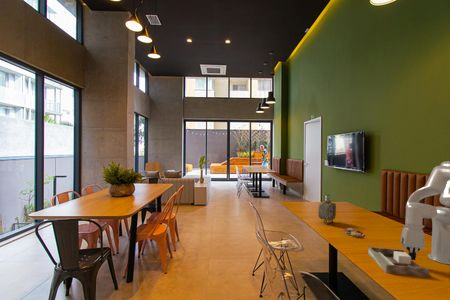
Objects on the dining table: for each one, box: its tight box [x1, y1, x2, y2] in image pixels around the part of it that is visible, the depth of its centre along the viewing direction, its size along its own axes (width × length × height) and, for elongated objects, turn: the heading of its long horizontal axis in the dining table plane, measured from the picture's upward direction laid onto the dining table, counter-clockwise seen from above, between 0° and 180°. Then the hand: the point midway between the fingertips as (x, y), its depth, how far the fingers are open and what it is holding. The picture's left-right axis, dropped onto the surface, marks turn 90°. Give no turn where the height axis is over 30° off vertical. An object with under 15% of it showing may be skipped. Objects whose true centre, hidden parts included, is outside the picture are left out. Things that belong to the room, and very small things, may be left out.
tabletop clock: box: [317, 194, 337, 226], centre depth 212 cm, size 14×9×25 cm, turn 131°
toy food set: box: [343, 227, 365, 238], centre depth 186 cm, size 13×13×3 cm
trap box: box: [367, 246, 430, 278], centre depth 139 cm, size 20×24×4 cm
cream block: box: [394, 251, 411, 264], centre depth 139 cm, size 6×6×4 cm
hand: (412, 258), depth 138 cm, fingers closed
